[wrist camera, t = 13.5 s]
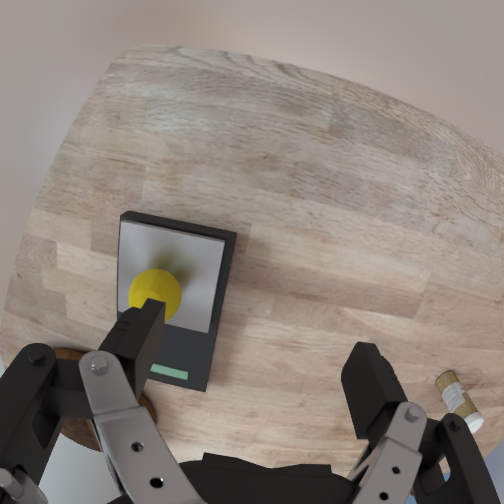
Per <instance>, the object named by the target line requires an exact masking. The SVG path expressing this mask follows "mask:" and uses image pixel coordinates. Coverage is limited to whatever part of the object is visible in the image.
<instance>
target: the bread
mask: <svg viewBox="0 0 504 504" xmlns="http://www.w3.org/2000/svg"><path fill="white" fill-rule="evenodd" d="M52 349H53V350H54V351H55V353H56V358H63V359H72V360H80V359H81V357H82V356H83V355H85V354H83V353H79V352H76V351H72V350H69V349H64V348H55V347H54V348H52ZM138 404H139V405H140V406H142V405H143V406H145V407H146V409H147V410H148V412H149V414H150V416H151V418H152V419H153V421H154V423H155V425H156V422H157V421H156V415H155V413H154V410H153V407H152V406H151V405H150V403H149V402H148V401H147V399H146V398H145V397H144V396H143V395H142V394H141V395H140V397H139V400H138ZM61 433H62V434H63V435H65V436H66V437H68V438H69V439H71V440H73V441H75V442H76V443H78V444H81V445H83V446H85V447H87V448H90V449H92V450H95V451H99V452H102V451H101V448H100V445H99V443H98V440H97V438H96V435H95V432H94V429H93V427H92V424H91V421H90V420H89V419H79V418H70V417H67V418H66V420H65V423H64V425H63V427H62V429H61Z"/></svg>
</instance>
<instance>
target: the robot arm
mask: <svg viewBox="0 0 504 504" xmlns="http://www.w3.org/2000/svg"><path fill="white" fill-rule="evenodd" d="M165 312H166V302H163V301H159V300H155V299H151V298H147V299H146V301H145V303H144V304H143V306H142V307H141V308H137V307H133V306H132V307H131V308H129V309H127V310H126V311H124V312H123V313H122V314H121V316H120V317H119V319H118V321H117V322H116V323H115V325H114V327H113V328H112V329H111V331H110V332H109V334H108V335H107V337H106V338H105V340H104V341H103V343H102V344H101V346H100V347H99V349H98V350H97V351H91V352H88V353H86V354H85V355H83V356H82V357H81V359H80V360H72V359H63V358H56V353H55V351H54V350H53V349H52V348H51V347H50V346H48V345H46V344H42V343H33V344H29V345H27V346H25V347H24V348H23V349H22V350H21V351H20V352H19V354H18V355H17V356H16V357H15V359H14V360H13V361H12V363H11V364H10V366H9V367H8V368H7V370H6V371H5V372H4V374H3V375H2V377H1V378H0V504H48V501H47V498H46V496H45V495H44V493H43V492H42V491H41V490H40V489H39V487H38V485H39V483H40V480H41V477H42V475H43V472H44V470H45V467H46V465H47V462H48V460H49V457H50V455H51V452H52V450H53V448H54V445H55V443H56V441H57V438H58V436H59V434H60V432H61V429H62V427H63V425H64V423H65V420H66V418H67V417H70V418H79V419H89V420H90V421H91V424H92V427H93V429H94V432H95V435H96V438H97V440H98V443H99V445H100V448H101V451H102V453H103V455H104V458H105V460H106V463H107V466H108V468H109V471H110V473H111V476H112V478H113V480H114V482H115V485H116V487H117V489H118V491H119V493H120V495H121V496H120V497H118V498H116V499H114V500H113V501H111V502H109V503H107V504H405V503H406V500H407V498H408V496H409V493H410V491H411V488H412V486H413V490H414V494H415V498H416V502H417V504H501V503H500V500H499V498H498V495H497V492H496V490H495V487H494V485H493V482H492V480H491V477H490V474H489V472H488V469H487V467H486V465H485V462H484V460H483V458H482V455H481V453H480V451H479V449H478V446H477V444H476V442H475V440H474V438H473V436H472V433H471V431H470V429H469V427H468V425H467V423H466V422H465V420H464V419H463V418H462V417H461V416H459V415H457V414H455V413H448V414H446V415H445V416H444V417H443V418H442V419H441V420H440V421H438V420H434V419H430V418H427V415H426V413H425V411H424V410H423V409H422V408H421V407H420V406H419V405H417V404H415V403H413V402H408V400H407V397H406V395H405V393H404V391H403V389H402V387H401V385H400V383H399V381H398V380H397V379H398V378H397V376H396V374H394V370H393V368H392V366H391V364H390V363H389V362H388V361H387V360H386V359H385V358H384V357H383V356H381V354H380V352H379V350H378V348H377V346H376V345H375V344H373V343H366V342H357V343H356V344H355V346H354V348H353V350H352V352H351V354H350V356H349V358H348V360H347V362H346V363H345V365H344V367H343V370H342V373H341V382H342V386H343V389H344V393H345V396H346V400H347V403H348V407H349V411H350V414H351V418H352V422H353V425H354V429H355V433H356V437H357V439H368V441H369V443H368V444H367V445H366V446H365V448H364V450H363V451H362V453H361V455H360V457H359V458H358V460H357V462H356V463H355V465H354V466H353V468H352V470H351V471H350V473H349V474H348V476H347V477H346V478H345V477H342V476H340V475H337V474H334V473H332V471H331V465H324V464H298V465H292V466H286V467H280V468H266V467H263V466H260V465H257V464H254V463H251V462H248V461H245V460H242V459H239V458H235V457H229V456H222V455H217V454H211V453H206V452H204V454H203V458H202V460H194V461H187V462H182V463H177V461H176V460H175V458H174V456H173V455H172V453H171V451H170V450H169V448H168V446H167V445H166V443H165V441H164V439H163V438H162V436H161V434H160V432H159V430H158V429H157V427H156V425H155V423H154V421H153V419H152V418H151V416H150V414H149V412H148V410H147V409H146V407H145V406H143V405H142V406H140V405H139V404H138V400H139V397H140V395H141V392H142V390H143V387H144V385H145V382H146V380H147V377H148V375H149V372H150V370H151V368H152V365H153V363H154V360H155V358H156V355H157V353H158V351H159V348H160V346H161V342H162V338H163V331H164V321H165ZM445 456H446V459H447V462H448V465H449V467H450V471H451V473H450V477H449V479H448V481H446V482H445V480H444V477H443V474H442V471H441V468H440V465H439V462H440V461H441V460H442V459H443V458H444V457H445Z"/></svg>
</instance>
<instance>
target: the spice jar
mask: <svg viewBox="0 0 504 504" xmlns="http://www.w3.org/2000/svg"><path fill="white" fill-rule="evenodd" d="M436 388H437V389H438V390H439V392H440V393H441V395H442V398H443V400H444V401H445V403H446V405H447V407H448V409H449V410H450V412H451V413H455V414H457V415H459V416H461V417H462V418H463V419H464V420H465V422H466V423H467V425H468V427H469V429H470V431H471V433H474V432H475V431H477V430H478V429H479V428H480V427H481V426H482V424H483V422H484V418H483V416H482V415H481V413H480V412H479V411H478V410H477V409H476V407H475V405H474V404H473V402H472V401H471V398H470V397H469V395H468V393H467V392H466V390H465V389H464V387H463V386H462V384H461V383H460V382H459V380H458V379H457V377H456V375H455V373H454V372H452V371H449V372H446V373H444V374H443V375H441V376H440V377H439V378H438V380H437V381H436Z"/></svg>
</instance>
